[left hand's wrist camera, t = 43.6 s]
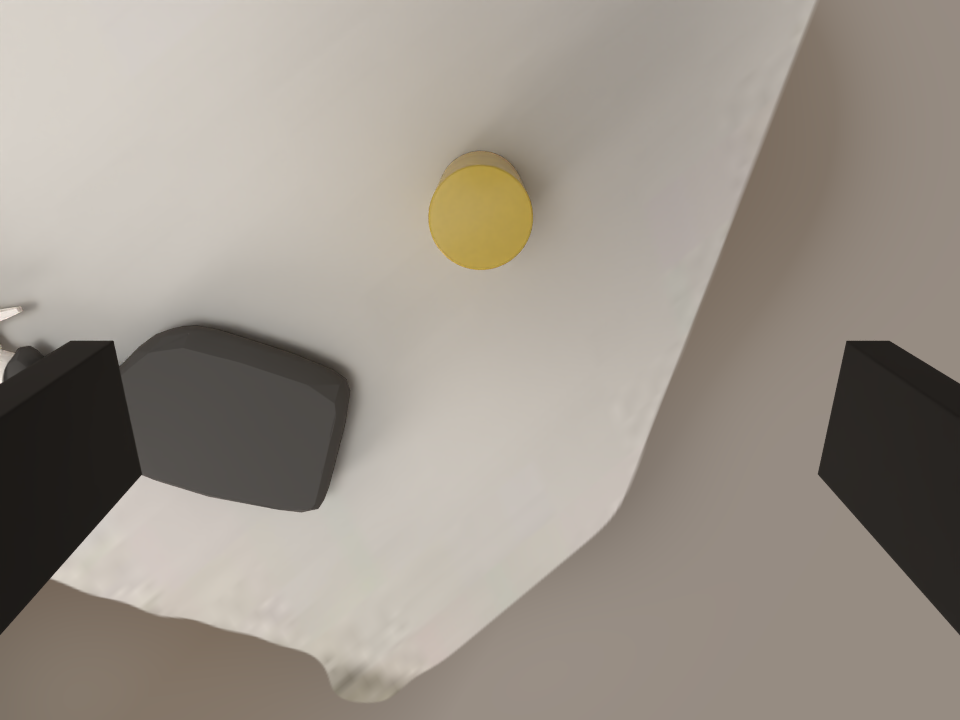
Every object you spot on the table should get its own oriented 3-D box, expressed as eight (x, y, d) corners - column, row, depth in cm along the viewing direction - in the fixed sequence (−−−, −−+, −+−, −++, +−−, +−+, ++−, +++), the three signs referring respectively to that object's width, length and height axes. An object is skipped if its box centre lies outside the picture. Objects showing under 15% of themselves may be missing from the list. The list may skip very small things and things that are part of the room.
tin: (469, 254, 39) (467, 289, 32) (420, 184, 37) (407, 205, 30) (539, 206, 38) (553, 233, 31) (492, 132, 36) (495, 142, 29)
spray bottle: (325, 506, 45) (-54, 408, 43) (362, 361, 41) (-53, 244, 39) (314, 533, 42) (-91, 429, 40) (352, 380, 38) (-94, 256, 36)
